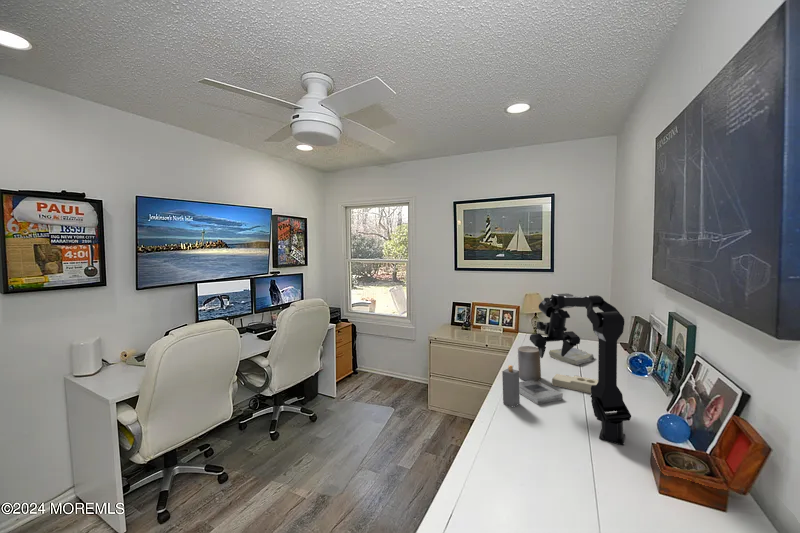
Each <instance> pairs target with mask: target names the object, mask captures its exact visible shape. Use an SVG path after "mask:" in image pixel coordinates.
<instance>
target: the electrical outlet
mask: <svg viewBox="0 0 800 533" xmlns="http://www.w3.org/2000/svg"><path fill="white" fill-rule="evenodd" d="M597 383H598V379H596V378H591V377H586V376H585V377H583V376H579V375H574V376H570V375H565V374H560V373H555V375H554V376H553V377H552V379H551V385H552V386H553V387H554V386H556V387H559V388H565V389H567V390H568V389H570V390H572V391H573V390H574V391H579V392H583V393H588V394H591V386H592V385H597Z"/></svg>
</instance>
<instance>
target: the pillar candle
mask: <svg viewBox="0 0 800 533" xmlns="http://www.w3.org/2000/svg"><path fill="white" fill-rule="evenodd" d="M517 363H518V368H517V369H518V371H519V380H523V381H529V380H534V379H535V380H537V381H539V382H540V380H541V379H542V371H541V370H542V368H541V357H540V354H539V350H538V347H536V346H532V345H531V346H530V345H523V346H522V345H521V346H519V347H518V348H517Z"/></svg>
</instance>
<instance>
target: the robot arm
mask: <svg viewBox="0 0 800 533" xmlns="http://www.w3.org/2000/svg"><path fill="white" fill-rule="evenodd" d="M574 307H575V308H576V307H577V308H585V309H586V317H587V319H588V320H589V322H590V323H591V324H592V331H593V333H594V334H595V336H596V337H597V339H598V361H597V362H598V364H597V367H598V369H597V371H598V372H597V373H598V374H597V377H598V379H597V380H598V383H597V385H592V386H591V393H590V398H591V401H590V402H591V406H592V410H593V415H594V416H595V417H596V421H599V422H601V426H600V427H601V428H600V429H601V430H600V432H599V436H598V438H599V440H603V441H606V442H610V443H614V444H617V445H621V446H624V445H625V439H626V434H625V433H624V422H627V421H628V422H630V421H631V418H632V414H631V413H630V411H629V409H628V406H627V405H626V404H625V402H624V397H623V393H622V391H621V390H620V389H619V387H618V382H617V380H618V379H617V378H618V372H617V371H618V340H619V339H620V337H621V336H622V335H623V333H624V329H625V317H624V316H622V314H621V313H620V311H619V310H618V309H617V308H616V307H615V306H613V305H612V304H610V303H609V302H607V301H605V299H604V298H603V297H602V296H600V295H597V294H595V295H580V296H579V295H578V296H576V295H574V294H571V293H555V294H554V293H553V294H551V295H550V297H544V299H543V300H542V301H541V302H539V304H538V309H539V311H540V312H541V313H542V314H544V316H546V317H547V318H548V319H549V321H548V322H543V321H537V322H536V329H537V330H539V331H541V332H544V334H545V335H547V336H543V335H542V334H541V333H532V334H530V335H529V341H530V342H531V343H532V344H533V345H534V347H537V348H538V350H539V354H540V359H543V358H544V355H545V352H546V349H547V346H546V344H547V343H551V342H560V341H562V347H561V349H562V351H561V356H562V357H564V356H565V354H566V353H567V352H568V351H569V350H570V349H572V348H575V347H576V346H577V345H579V344H580V343H581V337H580V336H579V335H577V333H575V332H574V331H571V330H570V331H567V330H568V328H567V327H566V323H567V319H570V318H571V316H570V314H569V313H568V311H567V310H564V309H572V308H574ZM596 308H598V309H599V310H600V312H599V311H598V312H595V310H594V309H596Z"/></svg>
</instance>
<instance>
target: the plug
mask: <svg viewBox="0 0 800 533" xmlns="http://www.w3.org/2000/svg"><path fill="white" fill-rule="evenodd" d="M513 367H514V366H513V365H512V364H511V365H508V367H507V368H505V369H504V370H502V373H501V374H502V401H503V402H502V403H504V404H503V405H505V404H507V405H506V406H508V405H510V406H509V407H511V406H513V407H512V408H515V407H517V406H518V405H520V404H519V403H521V402H520V401H521V400H520V398H521V397H520V396H521V395H520V393H519V382H520V378H519V369H518V370H517V369H513ZM517 404H518V405H517ZM516 405H517V406H516ZM514 406H515V407H514Z"/></svg>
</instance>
